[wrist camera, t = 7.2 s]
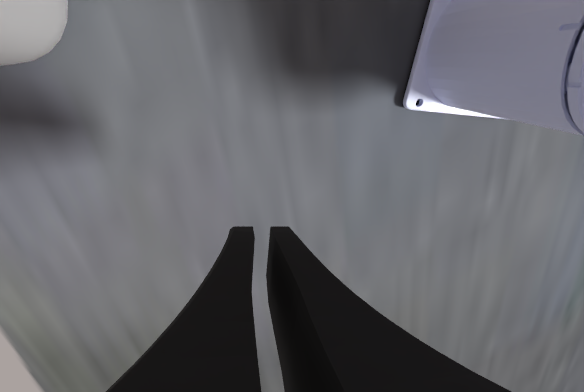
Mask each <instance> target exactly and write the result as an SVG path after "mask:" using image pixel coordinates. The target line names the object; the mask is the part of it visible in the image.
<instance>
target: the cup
mask: <svg viewBox="0 0 584 392" xmlns="http://www.w3.org/2000/svg"><path fill="white" fill-rule="evenodd" d="M67 12H68V0H0V66H5V65H13V64H19V63H25V62H30V61H34V60H36V59H38V58H40V57H42V56H44V55H46V54H47V53H49V52H50V51H51V50H52V49H53V48H54V46H55V45H56V44H57V43H58V42H59V41H60V39H61V37H62V34H63V32H64V29H65V26H66V23H67Z"/></svg>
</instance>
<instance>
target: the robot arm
mask: <svg viewBox="0 0 584 392" xmlns="http://www.w3.org/2000/svg"><path fill="white" fill-rule="evenodd" d="M418 99H419V100H420V102H419V104H418V105H417V106H416V101H417V100H418ZM403 106H404V107H405V108H406V109H410V110H418V111H428V112H439V113H449V114H459V115H469V116H479V117H489V118H499V119H509V120H513V121H518V122H523V123H527V124H532V125H536V126H541V127H546V128H550V129H555V130H560V131H564V132H569V133H573V134H578V135H583V136H584V0H430V4H429V8H428V11H427V15H426V19H425V22H424V26H423V30H422V33H421V37H420V41H419V44H418V48H417V52H416V55H415V59H414V63H413V66H412V70H411V74H410V78H409V81H408V85H407V89H406V92H405V96H404V100H403ZM254 240H255V237H254V231H253V227H233V228H231V229H230V231H229V235H228V238H227V240H226V243H225V245H224V247H223V249H222V251H221V253H220V255H219V256H218V258H217V260H216V262H215V263H214V265H213V267H212V268H211V270H210V272H209V273H208V275H207V276H206V278H205V279H204V281H203V282H202V284H201V285H200V287H199V288H198V290H197V291H196V292H195V294H194V295H193V296H192V298H191V299H190V301H189V302H188V303H187V304H186V306H185V307H184V308H183V310H182V311H181V312H180V313H179V314H178V316H177V317H176V318H175V319H174V321H173V322H172V323H171V324H170V325H169V326H168V328H167V329H166V330H165V331H164V332H163V333H162V334H161V335H160V337H159V338H158V339H157V340H156V341H155V342H154V343H153V344H152V346H151V347H150V348H149V349H148V350H147V351H146V352H145V353H144V354H143V355H142V356H141V357H140V358H139V359H138V360H137V361H136V362H135V364H134V365H133V366H131V367H130V368H129V369H128V370H127V371H126V372H125V373H124V374H123V375H122V376H121V377H120V378H119V379H118V380H117V381H116V382H115V383H114V384H113V385H112V386H111V387H110V388H109V389H108V390H107V391H106V392H261V386H260V376H259V367H258V358H257V348H256V338H255V328H254V317H253V305H252V272H253V256H254ZM266 278H267V291H268V303H269V308H270V314H271V319H272V324H273V329H274V334H275V340H276V345H277V350H278V355H279V360H280V365H281V370H282V376H283V383H284V389H285V392H511V391H509V390H507V389H505V388H503V387H501V386H499V385H498V384H496V383H494V382H492V381H490V380H488V379H486V378H484V377H482V376H480V375H478V374H476V373H474V372H473V371H471V370H469V369H467V368H465V367H464V366H462V365H460V364H459V363H457V362H455V361H453V360H452V359H450V358H448V357H447V356H445V355H443V354H441V353H440V352H438V351H436V350H435V349H433V348H431V347H430V346H428V345H427V344H425V343H423V342H422V341H420V340H419V339H417V338H415V337H414V336H412V335H411V334H409V333H408V332H406V331H405V330H403V329H402V328H400V327H399V326H397V325H396V324H395V323H393V322H392V321H390V320H389V319H387V318H386V317H384V316H383V315H382V314H380V313H379V312H378V311H376V310H375V309H374V308H372V307H371V306H370V305H369V304H367V303H366V302H365V301H363V300H362V299H361V298H360V297H358V296H357V295H356V294H355V293H353V292H352V291H351V290H350V289H349V288H348V287H346V286H345V285H344V284H343V283H342V282H341V281H340V280H339V279H338V278H337V277H335V276H334V275H333V274H332V273H331V272H330V271H329V270H328V269H327V268H326V267H325V266H324V265H323V264H322V263H321V262H320V261H319V260H318V259H317V258H316V257H315V256H314V255H313V253H312V252H311V251H310V250H309V249H308V248H307V247H306V246H305V245H304V243H303V242H302V241H301V240H300V239H299V238H298V236H297V235H296V234H295V233H294V232H293V231H292V230H291V229H290V227H271V228H270V239H269V250H268V262H267V273H266Z"/></svg>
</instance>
